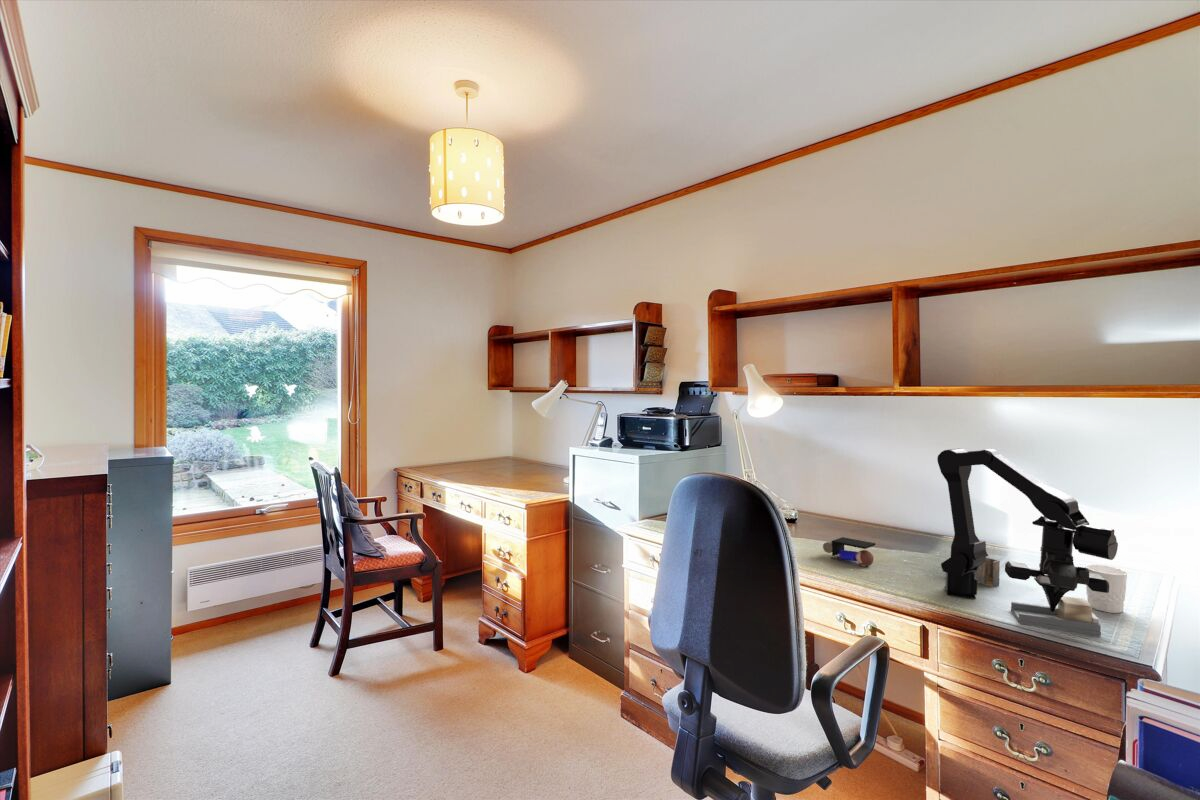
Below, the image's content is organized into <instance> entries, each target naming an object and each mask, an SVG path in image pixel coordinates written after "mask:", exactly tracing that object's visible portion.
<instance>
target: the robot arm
mask: <svg viewBox="0 0 1200 800" xmlns="http://www.w3.org/2000/svg"><path fill="white" fill-rule="evenodd" d="M936 461H937V464H938V467H939V470H940V474H941V475H942V477H943V478H944V479H945V480H946V482H947V489H948V495H949V502H950V510H951V517H952V524H953V525H952V526H953V533H954V535H953V539H952V542H951V547H950V557H948V558H947V559H946V560H944V561H943V562H941V563H940V566H941V569H942V572H943V573H945V585H944V590H945V593H946V595H947V596H949V597H950V596H951V597H957V598H966V599H971V600H975V599H976V598H977V597H976V596H977V594H978V583H977V580H976V578H975V574H974V573H973V571H977V569H978V567H979V566H981V565H982V564H983V563H984V562H985V560H986V557H987V558H988V557H989V554H988V553H987V543H986V540H980V539H979V538H978V536H977V534H976V532H975V531H976V530H975V524H974V523H975V522H974V515H973V509H972V502H971V495H970V489H969V478H970V477H971V472H972V466H981V465H982V466H984V467H986V468H988V469H989V470H990V471H992V472H993V473H994V474H996V475H997V476H999V477H1000V478H1001V479H1002V480H1004V481H1006V482H1007V483H1008V484H1010V485H1011V486H1013V488H1015V489H1017V490H1018V492H1021V493H1022V494H1024V495H1025V496H1026V497H1027V498H1028V499H1029V501H1030V503H1031V504H1032V506H1033V507H1034V508H1035V509H1036V510H1037V511H1038V512H1040V514H1042V515H1041V516H1039V517H1038V518H1037V519H1035V520H1033V521H1032V524H1033V526H1038V527H1042V535H1041V546H1040V550H1039V551H1040V560H1039V561H1040V563H1039V567H1038V568H1039V569H1038V568H1030V567H1029V566H1028V565H1027V563H1025V562H1018V561H1012V560H1011V561H1010V560H1009V561H1007V562H1005V564H1004V572H1005V573H1006V575H1007V576H1008V578H1011V579H1014V580H1015V579H1016V580H1021V581H1027V580H1029V579H1031V577H1033V580H1034V581H1035V582H1036V583H1037V584H1038V585H1039V586H1041V588H1042V590H1043V592H1044V594H1045V597H1046V601H1047V602H1048V603H1047V604H1048V606H1049V607H1050V611H1051V612H1054V610H1055V608H1056V607H1058V603H1059V601H1060V599H1061V598H1062V597H1063V596H1065V594H1067V593H1068V592H1070V591H1071V592H1074V591H1075V590H1076V589H1077V588H1078V584H1079V585H1084V586H1086V585H1087V586H1088V587H1089V588H1090V589H1091V590H1092V591H1097V592H1104V593H1109V582H1108V581H1107V580H1105V579H1104V578H1103V577H1102V576H1101V575H1099V574H1094V573H1089V570H1088V568H1085V567H1082V566H1075V565H1074V556H1073V547H1074V549H1075V550H1076V551H1077V552H1078V553H1079V554H1084V555H1086V556H1087V555H1089V556H1091V557H1092V556H1093V557H1097V558H1101V559H1106V560H1110V561H1112V560H1114V559H1115V557H1116V556H1117V553H1118V547H1119V543H1118V540H1117V537H1116V534H1115V529H1113V528H1109V527H1100V526H1094V525H1091V524H1090V522H1089V521H1088V520H1087V518H1086V517H1085V516H1084V514H1083V513H1082V512H1081V510H1080V509H1079V502H1078V501H1077V500H1076V499H1075V498H1074V497H1073V496H1071V495H1069V494H1068V493H1065V492H1063V491H1061V490H1060V489H1057V488H1054V487H1052V486H1049V485H1046V484H1044V483H1042V482H1041V481H1039V480H1038V479H1036V478H1035V477H1033V475H1030V474H1029V473H1028V472H1027V471H1025V470H1023V469H1022V468H1021V467H1019V466H1018V465H1016V464H1015V463H1013V462H1011V460H1009V459H1007V458H1006V457H1005V456H1003V455H1002V454H1000V452H999V451H998V450H996V449H994V448H987V449H982V450H971V451H967V450H966V449H963V448H952V449H951V448H950V449H944V450H942V451H941V452H940V453H939V454H938V456H937V459H936Z"/></svg>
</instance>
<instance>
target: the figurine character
mask: <svg viewBox="0 0 1200 800" xmlns="http://www.w3.org/2000/svg"><path fill="white" fill-rule="evenodd" d="M845 546H848V547H853V548H859V549H861V550H859V551H856V550H855V551H853V550H846V549H845ZM874 546H876V542H871V541H865V540H860V539H855V538H850V537H849V538H848V537H844V536H842V537H840V538H836V539H833V540H831V541H827V542H824V543H823V545H822V549H823V551H824V552H825V553H827V554H831V553H832V555H831V556H830V558H831V559H833V560H844V561H849V562H850V561H851V562H857V563H858V564H859V566H862V567H869V566H871V565H872V564H873V562H874V555H873V554H872V552H871V551H869V550H867V549H869V548H871V547H874ZM865 549H866V550H865Z"/></svg>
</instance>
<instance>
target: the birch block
mask: <svg viewBox="0 0 1200 800" xmlns="http://www.w3.org/2000/svg"><path fill="white" fill-rule="evenodd" d="M1057 608H1058V617H1059V618H1062V619H1070V620H1077V621H1084V622H1091V623H1092V613H1093V608H1092V606H1091V605H1090V604H1089V603H1088V602H1087V600H1086V599H1085V598H1079V597H1073V596H1065V595H1063V597H1062V598H1061V599H1060V601H1059V603H1058V605H1057Z"/></svg>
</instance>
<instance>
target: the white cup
mask: <svg viewBox="0 0 1200 800" xmlns="http://www.w3.org/2000/svg"><path fill="white" fill-rule="evenodd" d="M1084 568H1088V570H1089V573H1094V574H1099V575H1101V576H1102V577H1103V578H1104V579H1105V580H1107V581H1108V582H1109V593H1104V592H1097V591H1092V590H1091V589H1090V588H1089V587H1088V586H1087V585H1085V587H1086V588H1085V589H1086V595H1087V600H1086V601H1087V602H1088V603H1089V604H1090V605H1091V606H1092V609H1095V610H1097V611H1101V612H1105V613H1111V614H1121V613H1123V612H1124V606H1125V605H1124V604H1125V603H1124V602H1125V600H1126V599H1125V598H1126V591H1127V579H1128V572H1127V571H1126V570H1124V569H1121V568H1117V567H1115V566H1114V567H1113V566H1109V565H1103V564H1095V563H1094V564H1086V565H1085V567H1084Z"/></svg>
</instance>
